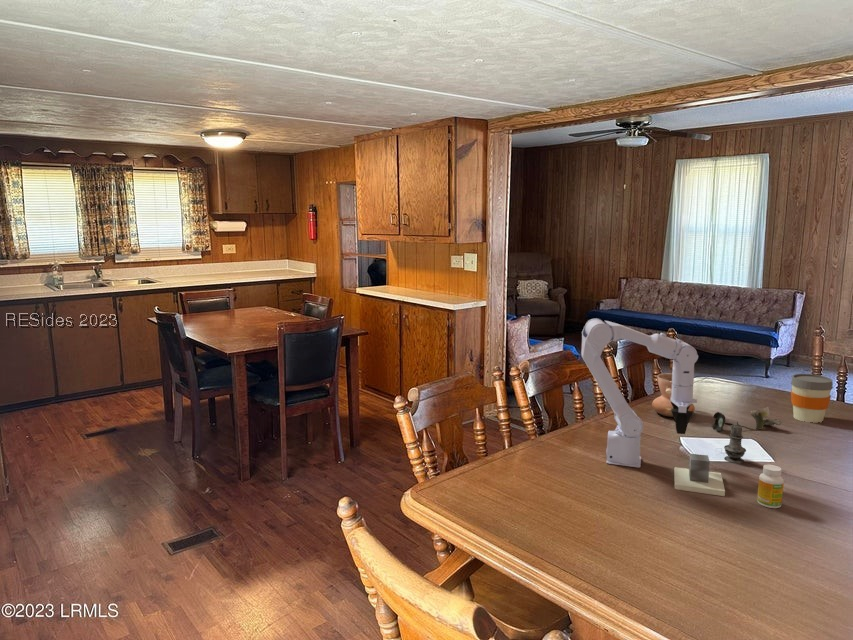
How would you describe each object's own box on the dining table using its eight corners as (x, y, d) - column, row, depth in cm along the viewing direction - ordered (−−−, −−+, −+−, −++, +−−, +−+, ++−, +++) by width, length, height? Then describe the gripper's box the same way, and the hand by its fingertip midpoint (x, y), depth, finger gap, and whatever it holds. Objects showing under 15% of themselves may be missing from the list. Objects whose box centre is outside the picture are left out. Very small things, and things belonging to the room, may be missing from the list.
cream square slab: (674, 491, 160) (675, 484, 160) (674, 473, 171) (674, 467, 171) (724, 498, 156) (724, 491, 156) (720, 479, 167) (721, 473, 167)
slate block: (690, 480, 162) (691, 459, 161) (689, 474, 166) (690, 453, 165) (708, 482, 161) (709, 461, 160) (706, 476, 165) (708, 455, 164)
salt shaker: (747, 464, 176) (751, 425, 174) (726, 463, 177) (729, 424, 175) (741, 456, 181) (744, 418, 179) (720, 455, 182) (723, 417, 181)
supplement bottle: (772, 510, 148) (776, 473, 146) (752, 501, 153) (755, 465, 151) (786, 505, 150) (789, 469, 149) (765, 497, 155) (768, 461, 153)
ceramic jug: (687, 424, 210) (690, 385, 208) (645, 416, 219) (648, 378, 216) (699, 412, 224) (702, 375, 222) (659, 404, 233) (662, 369, 231)
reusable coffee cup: (789, 411, 224) (793, 371, 221) (829, 417, 216) (834, 376, 214) (785, 420, 214) (789, 379, 211) (828, 427, 206) (832, 384, 204)
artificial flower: (707, 430, 209) (708, 401, 210) (770, 436, 209) (771, 407, 210) (720, 432, 200) (721, 401, 201) (786, 438, 200) (787, 408, 201)
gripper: (699, 392, 165) (696, 439, 167) (696, 378, 179) (694, 422, 181) (671, 390, 168) (669, 436, 170) (670, 377, 181) (668, 420, 183)
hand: (680, 429), depth 176 cm, fingers open, 7 cm apart
